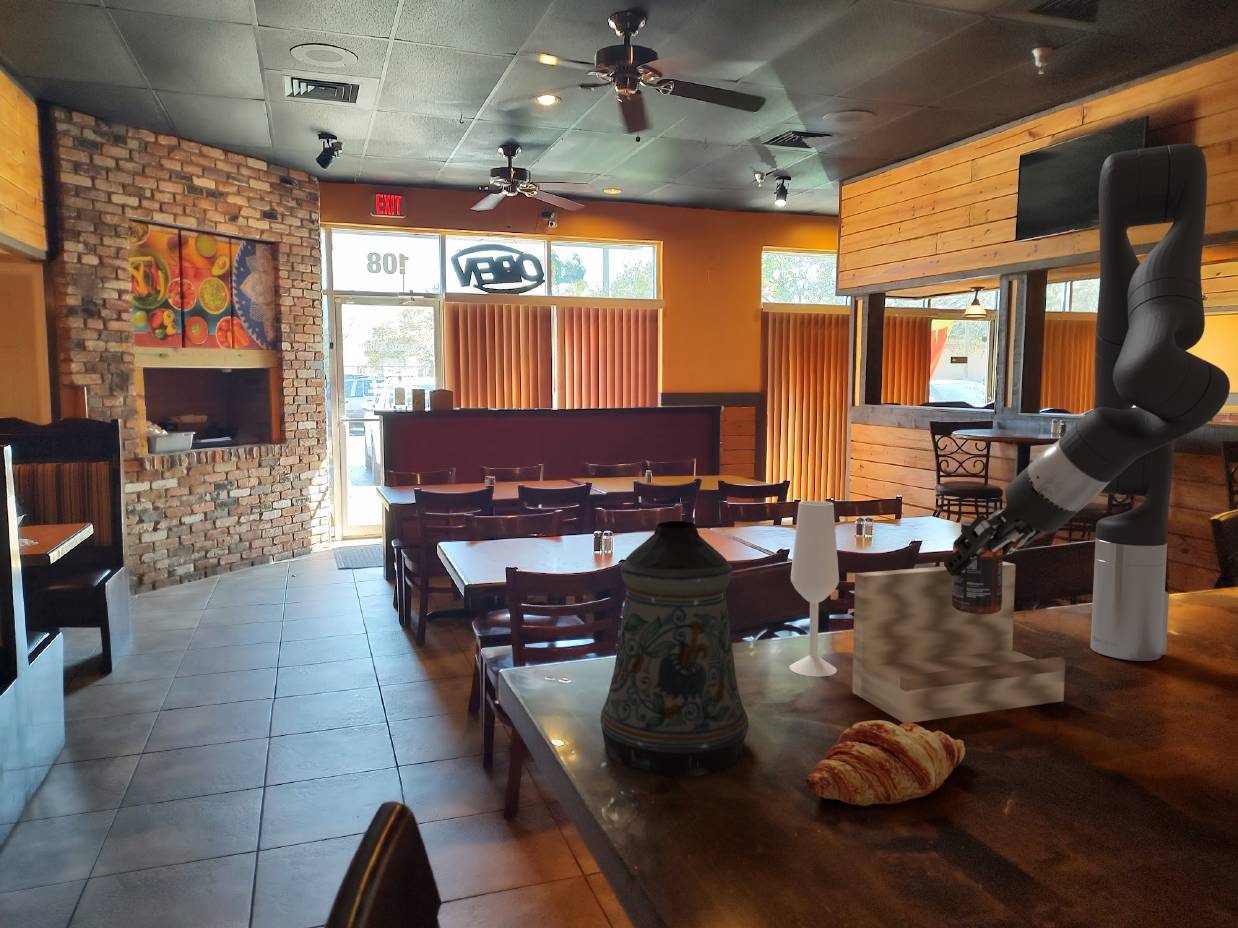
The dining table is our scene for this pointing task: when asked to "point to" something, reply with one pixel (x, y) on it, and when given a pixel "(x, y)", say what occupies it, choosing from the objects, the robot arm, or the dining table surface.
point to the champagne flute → (814, 573)
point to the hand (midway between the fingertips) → (965, 566)
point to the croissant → (885, 763)
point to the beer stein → (675, 661)
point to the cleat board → (941, 650)
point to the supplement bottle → (979, 582)
